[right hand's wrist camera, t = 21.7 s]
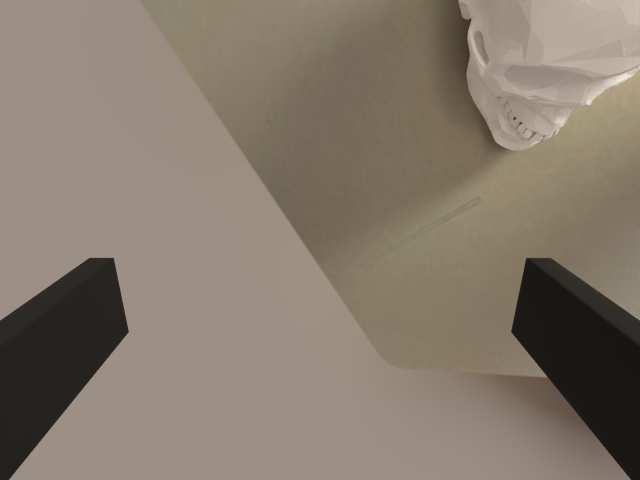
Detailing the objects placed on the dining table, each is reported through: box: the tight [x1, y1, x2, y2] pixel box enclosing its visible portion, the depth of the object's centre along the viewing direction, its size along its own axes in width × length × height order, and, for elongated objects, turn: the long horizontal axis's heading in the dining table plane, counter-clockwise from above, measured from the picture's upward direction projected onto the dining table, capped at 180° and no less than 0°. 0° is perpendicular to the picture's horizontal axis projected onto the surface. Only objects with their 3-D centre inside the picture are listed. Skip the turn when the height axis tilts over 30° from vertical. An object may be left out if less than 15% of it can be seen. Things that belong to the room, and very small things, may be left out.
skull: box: [458, 0, 640, 151], centre depth 28 cm, size 13×22×16 cm, turn 10°
